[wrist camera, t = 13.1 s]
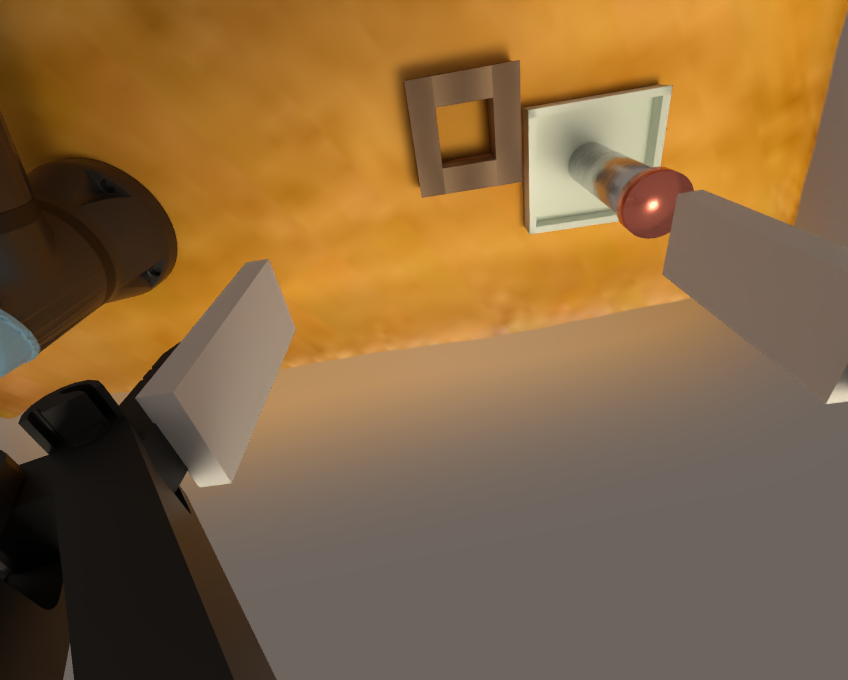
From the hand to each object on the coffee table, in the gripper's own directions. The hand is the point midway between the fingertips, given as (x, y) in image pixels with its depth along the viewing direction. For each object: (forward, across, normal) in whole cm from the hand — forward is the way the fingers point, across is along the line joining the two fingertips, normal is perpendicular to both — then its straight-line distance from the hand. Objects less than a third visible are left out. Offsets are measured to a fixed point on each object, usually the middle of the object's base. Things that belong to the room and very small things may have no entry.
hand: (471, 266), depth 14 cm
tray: (+33, +16, -5) cm, 37 cm away
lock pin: (+32, +16, -5) cm, 36 cm away
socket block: (+33, +4, 0) cm, 34 cm away
